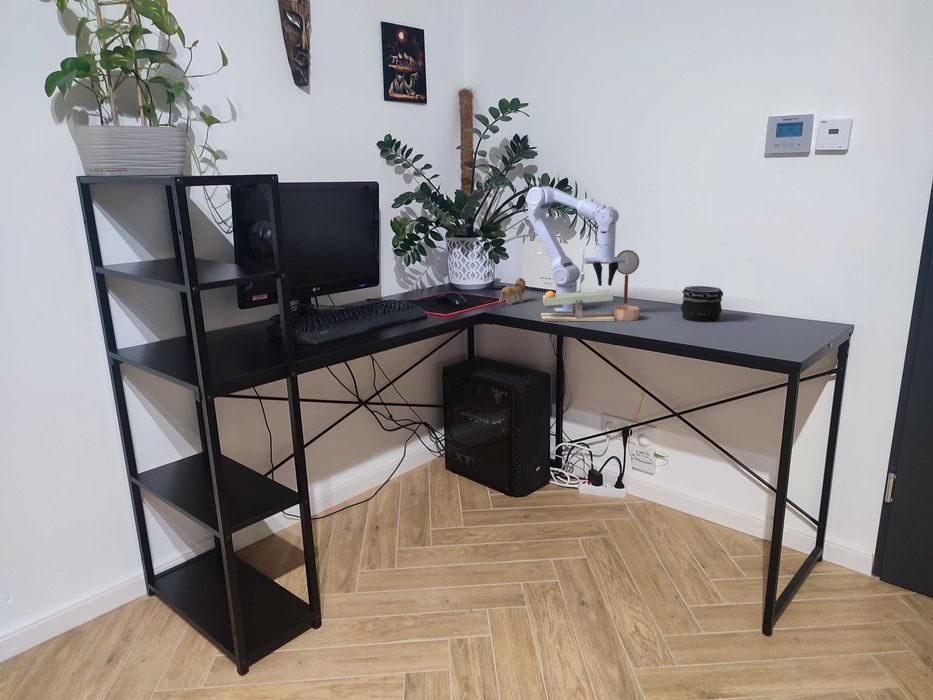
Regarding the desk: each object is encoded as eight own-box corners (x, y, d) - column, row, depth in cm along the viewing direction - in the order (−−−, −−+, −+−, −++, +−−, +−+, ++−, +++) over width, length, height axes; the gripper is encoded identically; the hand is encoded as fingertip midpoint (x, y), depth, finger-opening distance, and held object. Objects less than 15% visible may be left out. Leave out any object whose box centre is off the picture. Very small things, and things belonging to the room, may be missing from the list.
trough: (542, 302, 227) (541, 292, 226) (608, 296, 226) (608, 286, 225) (545, 309, 216) (544, 298, 215) (615, 303, 214) (615, 293, 214)
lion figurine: (517, 299, 253) (517, 276, 251) (528, 301, 250) (529, 277, 248) (494, 306, 242) (494, 281, 240) (507, 307, 239) (506, 283, 237)
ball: (545, 301, 220) (543, 291, 219) (556, 299, 220) (553, 288, 219) (546, 303, 216) (544, 293, 216) (557, 301, 216) (554, 290, 215)
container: (716, 314, 222) (719, 285, 219) (725, 323, 210) (727, 292, 207) (677, 314, 224) (679, 284, 221) (683, 322, 211) (685, 291, 209)
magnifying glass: (614, 306, 237) (616, 250, 232) (612, 305, 239) (614, 250, 234) (637, 306, 238) (640, 250, 233) (636, 305, 240) (639, 249, 234)
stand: (540, 315, 225) (541, 294, 223) (609, 314, 224) (609, 293, 222) (543, 322, 214) (543, 300, 213) (615, 321, 214) (615, 299, 212)
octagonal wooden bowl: (611, 315, 223) (611, 305, 222) (635, 315, 223) (635, 305, 222) (615, 320, 215) (616, 310, 214) (640, 320, 215) (641, 310, 214)
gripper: (586, 246, 216) (584, 287, 220) (630, 245, 216) (628, 286, 219) (583, 243, 223) (581, 284, 226) (626, 243, 222) (624, 283, 226)
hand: (604, 285), depth 223 cm, fingers open, 3 cm apart
